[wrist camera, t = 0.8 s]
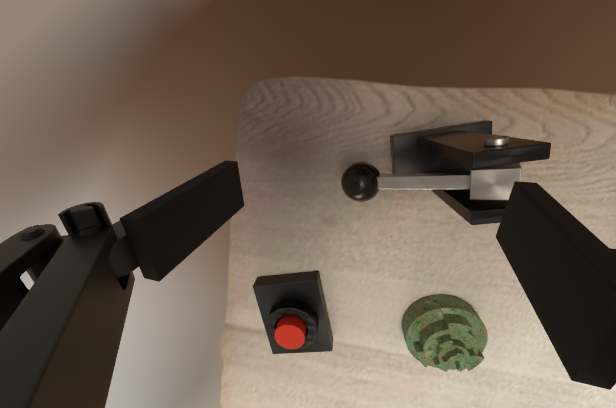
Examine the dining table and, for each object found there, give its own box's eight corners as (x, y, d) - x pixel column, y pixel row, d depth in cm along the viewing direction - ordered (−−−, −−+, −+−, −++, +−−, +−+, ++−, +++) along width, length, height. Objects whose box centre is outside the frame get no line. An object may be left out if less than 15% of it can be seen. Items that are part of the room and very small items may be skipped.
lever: (352, 194, 27) (337, 206, 25) (348, 159, 26) (332, 168, 24) (514, 196, 20) (519, 214, 17) (518, 148, 19) (524, 159, 16)
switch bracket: (393, 186, 32) (428, 235, 19) (390, 135, 30) (426, 151, 17) (484, 175, 30) (590, 221, 17) (486, 120, 29) (606, 126, 16)
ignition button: (274, 316, 36) (271, 326, 34) (303, 313, 35) (301, 323, 34) (280, 339, 37) (278, 350, 35) (309, 337, 36) (307, 348, 35)
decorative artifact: (489, 303, 35) (414, 287, 36) (523, 347, 29) (430, 326, 29) (462, 358, 39) (393, 343, 39) (486, 409, 32) (403, 389, 33)
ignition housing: (257, 277, 39) (248, 294, 35) (318, 270, 37) (315, 288, 33) (276, 342, 42) (269, 364, 38) (332, 339, 41) (332, 362, 37)
